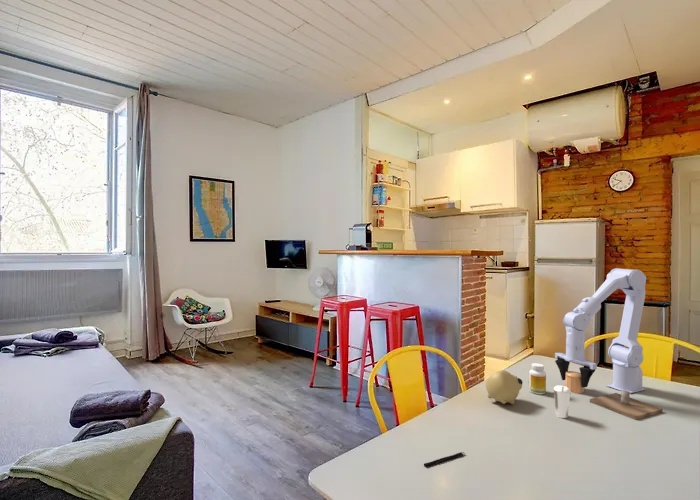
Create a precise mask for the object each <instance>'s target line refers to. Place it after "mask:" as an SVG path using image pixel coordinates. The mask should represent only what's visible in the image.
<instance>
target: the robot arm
mask: <svg viewBox="0 0 700 500" xmlns="http://www.w3.org/2000/svg"><path fill="white" fill-rule="evenodd" d="M646 282H647V276H646V275H645V273H644V272H643V271H641V270H640V269H632V268H631V269H630V268H629V269H627V268H619V267H616V268H613V269H611V270H610V272H608V273H607V275H606V279H605V281H604V282H603V283H602V284H601V285H600V286H599V288H598V289H597V290H596V291H595V292H594V294H592V296H588V297H587V296H586V297H585V298H582V299H581V302H580V303H579V304H578V305H577V306H575V308H574V309H573V310H572V311H569V312H567V313H566V314H565V315H564V317H563V318H562V322H563V325H564V326H565V331H566V332H565V334H566V337H565V353H563V352H559V351H558V352H555V353H554V358H555V360H554V362H555V363H554V364H556V366H557V368H558V370H559V373H560V377H561V381H565V375H566V372H567V371H569V366H570V363H572V364H575V365H579V366H581V367H579V368H578V369H579V373H581V385H582V387H583V388H584V389H585V388H588V386H589V383H590V380H591V377H592V376H593V374H594V373H595V371H596V370H597V368H598V365H597V364H598V363H595V362H593V361H591V360H589V359H587V358H585V341H586V338H585V337H586V329H588V328H589V326H590V322H591V320H592V318H593V317H595V315H596V314H597V313H598V312H599V311H600V310H601V308H602V304H601V303H602V302H604V301H605V300H606V299H607V298H609V296H610V295H612V293H614V292H615V291H617V290H622V291H623V293H624V294H625V301H624V307H623V311H622V318H621V323H620V326H619V327H620V328H619V332H618V333H619V334H618V336H616V337H615V338H613V339H612V342H611V344H610V346H609V347H608V351H607V354H608V357H609V358H611V362H612V383H609V384H607V385H606V387H608V388H612V389H615V390H618V391H620V392H621V390H625V391H629V392H630V394H633V393H638V392H641V391H645V390H646V388H644V387H643V374H644V373H643V369H642V368H641V365H642V363H643V362H644V354H643V349H644V348H643V346H642V345H641V344H640V342H639V341H638V336H639V331H640V326H641V319H642V316H643V315H642V314H643V310H644V304H645V299H646V291H647V290H646V285H647V283H646Z"/></svg>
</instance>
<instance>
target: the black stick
mask: <svg viewBox="0 0 700 500" xmlns="http://www.w3.org/2000/svg"><path fill="white" fill-rule="evenodd" d="M465 455H466V453H465V451H462V452H461V451H460V452H458V453H455V454H451V455H449V456H444V457H441V458H437V459H435V460H433V461H429V462H426V463H423V467H424V468H426V469H427V468H429V467H433V466H435V465H437V464H442V463H445V462H449V461H452V460H455V459H457V458H460V457H463V456H465Z"/></svg>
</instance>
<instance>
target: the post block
mask: <svg viewBox="0 0 700 500" xmlns="http://www.w3.org/2000/svg"><path fill="white" fill-rule="evenodd" d="M620 392H621V393H618V392H614V393H610V394H606V395H601V396H597V397H596V396H595V397H593V398H589V403H592V404H594V405H597V406H600V407H602V408H604V409H607V410H609V411H612V412H613V413H614V412H615V413H617V414H619V415H622V416H625V417H628V418H630V419H633V420H640V419H642V418H647V417H649V416H653V415H657V414H661V413H663V408H661V407H658V406H655V405H652V404H649V403H646V402H644V401H641V400H638V399H634V398H632V397H630V394H631V393H630V392H629V391H625V390H621V391H620Z"/></svg>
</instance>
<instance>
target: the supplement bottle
mask: <svg viewBox="0 0 700 500" xmlns="http://www.w3.org/2000/svg"><path fill="white" fill-rule="evenodd" d="M546 388H547V373H546V372H545V365H544V364H542V363H537V362H533V363H531V369H530V370H529V372H528V391H529V393H532V394H535V395H545V394H546V391H547V389H546Z"/></svg>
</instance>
